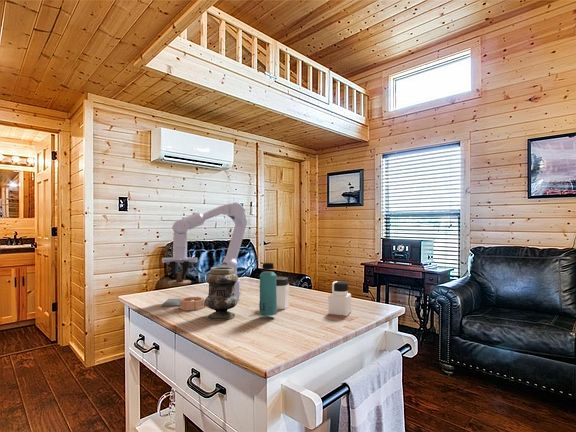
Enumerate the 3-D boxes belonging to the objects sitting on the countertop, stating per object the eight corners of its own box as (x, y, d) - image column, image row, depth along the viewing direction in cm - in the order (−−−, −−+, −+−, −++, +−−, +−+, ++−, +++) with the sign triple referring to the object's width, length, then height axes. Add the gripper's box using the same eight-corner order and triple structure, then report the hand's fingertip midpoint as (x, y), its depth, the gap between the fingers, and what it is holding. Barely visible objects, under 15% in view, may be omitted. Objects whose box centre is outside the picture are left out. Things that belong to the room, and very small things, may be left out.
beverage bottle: (279, 316, 122) (279, 262, 123) (272, 321, 116) (273, 264, 117) (263, 314, 125) (263, 261, 125) (256, 319, 118) (256, 263, 119)
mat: (195, 299, 149) (195, 298, 149) (190, 306, 137) (190, 304, 137) (168, 300, 147) (168, 298, 148) (161, 306, 136) (161, 305, 136)
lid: (192, 281, 148) (192, 271, 148) (189, 284, 138) (189, 274, 138) (169, 282, 146) (170, 272, 146) (165, 285, 136) (165, 274, 137)
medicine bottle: (351, 311, 129) (351, 280, 129) (346, 316, 123) (346, 283, 123) (333, 309, 132) (333, 279, 132) (328, 314, 126) (328, 282, 126)
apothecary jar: (244, 315, 124) (244, 266, 124) (223, 323, 113) (223, 270, 114) (219, 310, 130) (220, 264, 130) (197, 318, 119) (198, 268, 120)
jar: (293, 307, 135) (293, 278, 135) (277, 310, 130) (277, 280, 130) (279, 303, 142) (279, 275, 142) (264, 306, 137) (264, 277, 137)
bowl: (205, 304, 139) (205, 296, 139) (202, 310, 130) (202, 301, 130) (182, 305, 138) (182, 296, 138) (177, 311, 129) (178, 302, 129)
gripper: (160, 248, 138) (159, 281, 137) (195, 248, 139) (195, 280, 139) (164, 247, 145) (164, 278, 145) (198, 247, 146) (198, 277, 146)
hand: (179, 279), depth 142 cm, fingers closed on lid, 3 cm apart
